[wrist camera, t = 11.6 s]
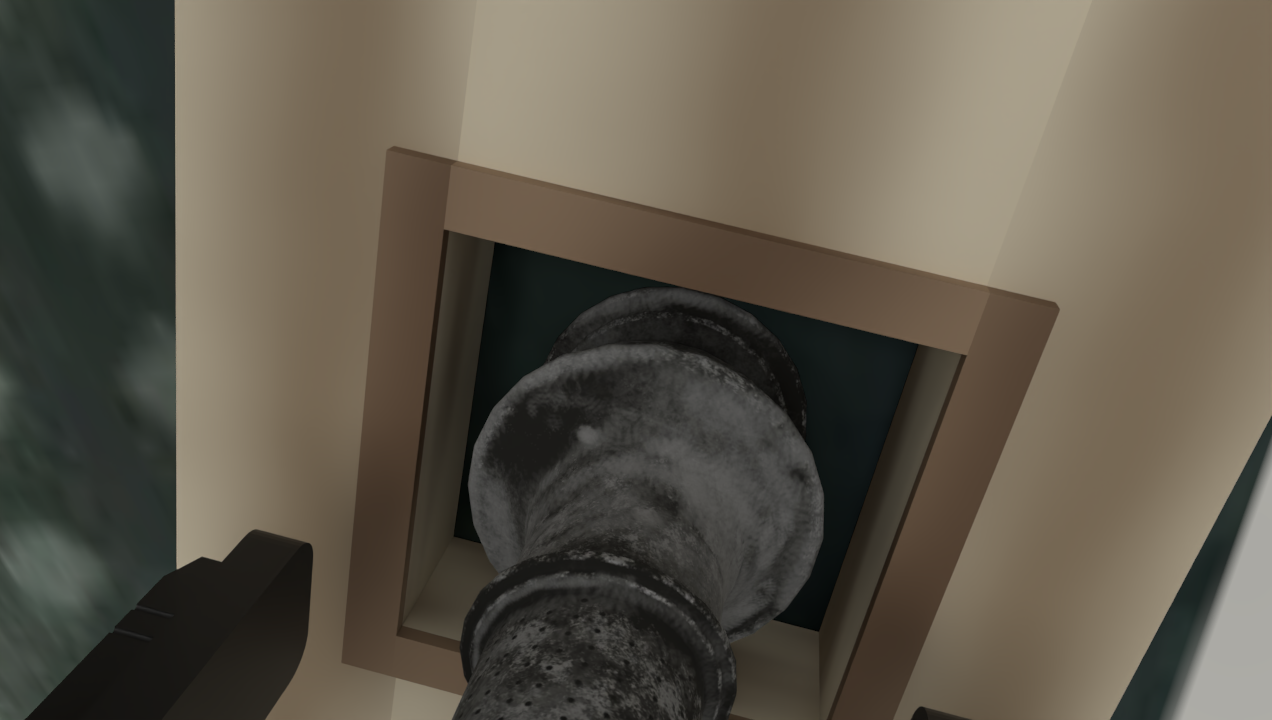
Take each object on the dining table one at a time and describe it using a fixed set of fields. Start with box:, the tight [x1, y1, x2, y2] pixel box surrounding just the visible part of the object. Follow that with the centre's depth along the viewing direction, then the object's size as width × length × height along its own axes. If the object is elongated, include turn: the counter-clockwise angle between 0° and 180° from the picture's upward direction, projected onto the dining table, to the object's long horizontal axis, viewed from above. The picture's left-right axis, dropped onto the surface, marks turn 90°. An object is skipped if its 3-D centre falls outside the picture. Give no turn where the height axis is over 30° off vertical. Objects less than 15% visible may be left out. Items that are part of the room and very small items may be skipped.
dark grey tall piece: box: [452, 287, 824, 720], centre depth 14 cm, size 6×6×12 cm
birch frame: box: [175, 0, 1272, 720], centre depth 18 cm, size 17×20×3 cm
